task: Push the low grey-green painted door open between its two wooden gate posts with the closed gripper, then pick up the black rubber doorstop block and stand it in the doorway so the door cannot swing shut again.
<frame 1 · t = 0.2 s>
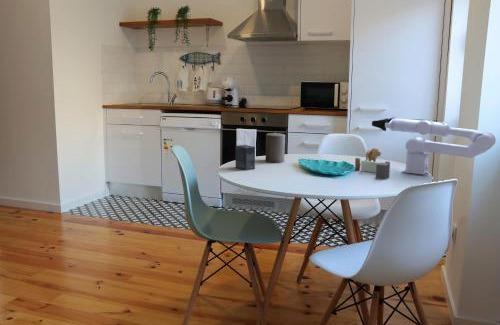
hand: (375, 122, 221), 21 cm above the table, tool horizontal, fingers open, 7 cm apart
wooden gate posts: (357, 170, 217), on the table
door: (371, 166, 212), point 2 cm above the table, hinge at 0.0°
box: (245, 168, 219), on the table
pillar candle: (275, 161, 237), on the table
doorstop block: (382, 177, 202), on the table
lion figurine: (371, 165, 231), on the table
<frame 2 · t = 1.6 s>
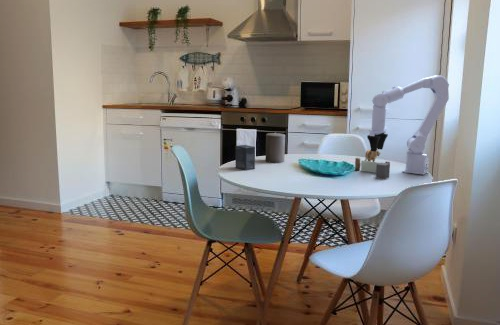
hand: (376, 150, 215), 9 cm above the table, tool pointing down, fingers open, 7 cm apart
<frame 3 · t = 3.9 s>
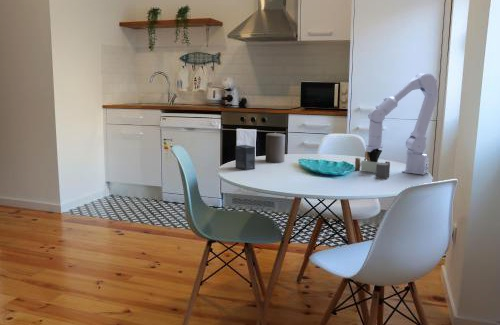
hand: (373, 165, 214), 3 cm above the table, tool pointing down, fingers closed, pressing on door
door: (371, 166, 212), point 2 cm above the table, hinge at 0.0°, touching gripper
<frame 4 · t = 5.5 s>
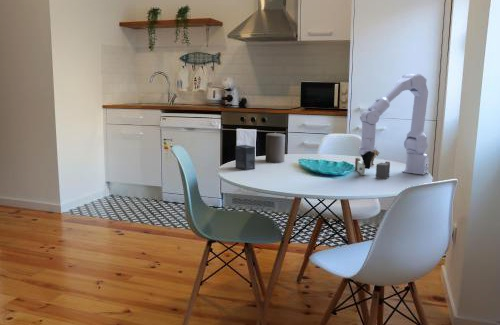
hand: (366, 168, 207), 3 cm above the table, tool pointing down, fingers closed, pressing on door
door: (359, 167, 210), point 2 cm above the table, hinge at 54.2°, touching gripper
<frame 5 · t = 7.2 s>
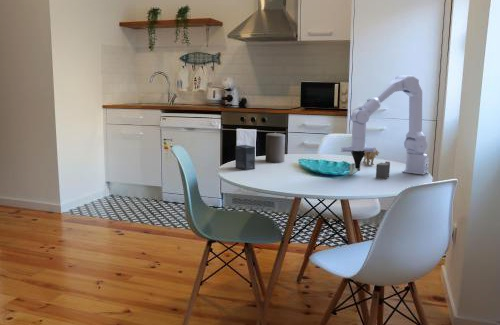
hand: (357, 168, 207), 3 cm above the table, tool pointing down, fingers closed
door: (352, 167, 211), point 2 cm above the table, hinge at 80.3°, touching gripper
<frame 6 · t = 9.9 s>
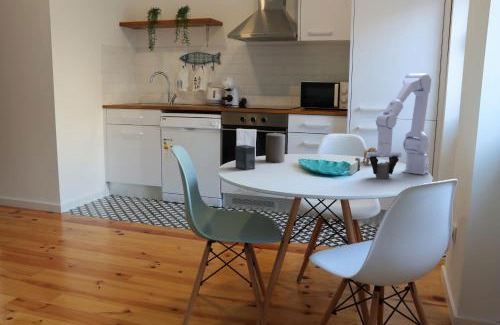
hand: (382, 173, 202), 2 cm above the table, tool pointing down, fingers closed on doorstop block, 6 cm apart
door: (352, 167, 211), point 2 cm above the table, hinge at 80.3°
doorstop block: (382, 177, 202), on the table, touching gripper
when the fingers open (9 cm above the table, at t = 11.5 s): doorstop block drops 6 cm, on the table.
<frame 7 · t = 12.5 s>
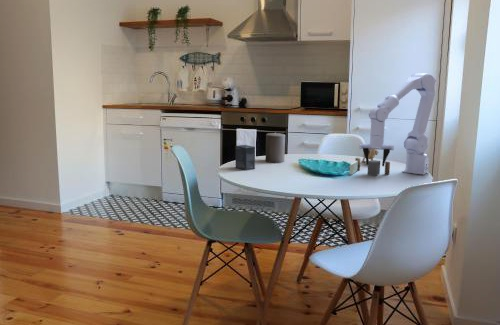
hand: (375, 165, 207), 4 cm above the table, tool pointing down, fingers open, 6 cm apart
doorstop block: (373, 174, 208), on the table, touching gripper
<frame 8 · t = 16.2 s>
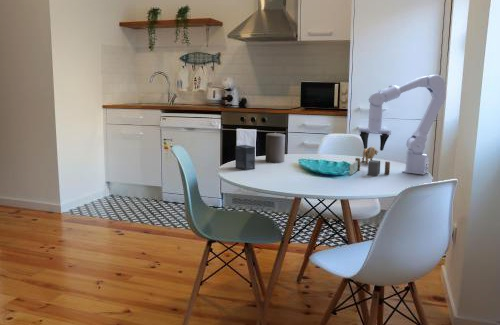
hand: (373, 149, 214), 10 cm above the table, tool pointing down, fingers open, 7 cm apart
doorstop block: (373, 174, 208), on the table
at the end: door at +80° (first picture: +0°); doorstop block inside the target area (0.5 cm from its centre), on the table; doorstop block tilted 0° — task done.
